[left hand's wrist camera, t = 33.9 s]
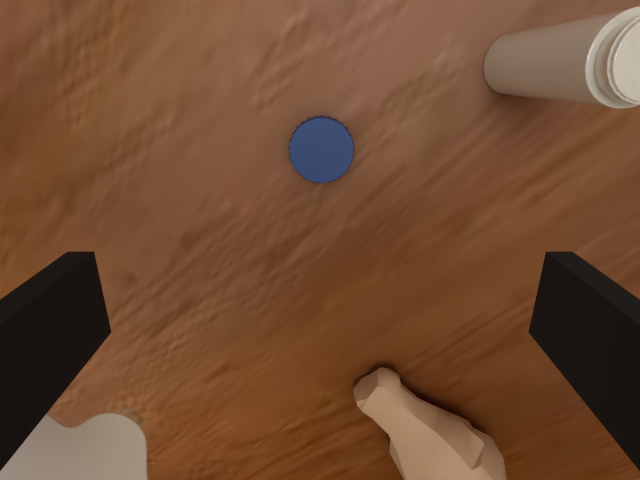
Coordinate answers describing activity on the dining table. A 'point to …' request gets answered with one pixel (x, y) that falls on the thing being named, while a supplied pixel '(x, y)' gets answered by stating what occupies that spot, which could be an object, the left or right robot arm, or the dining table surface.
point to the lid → (321, 149)
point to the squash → (426, 433)
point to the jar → (571, 61)
